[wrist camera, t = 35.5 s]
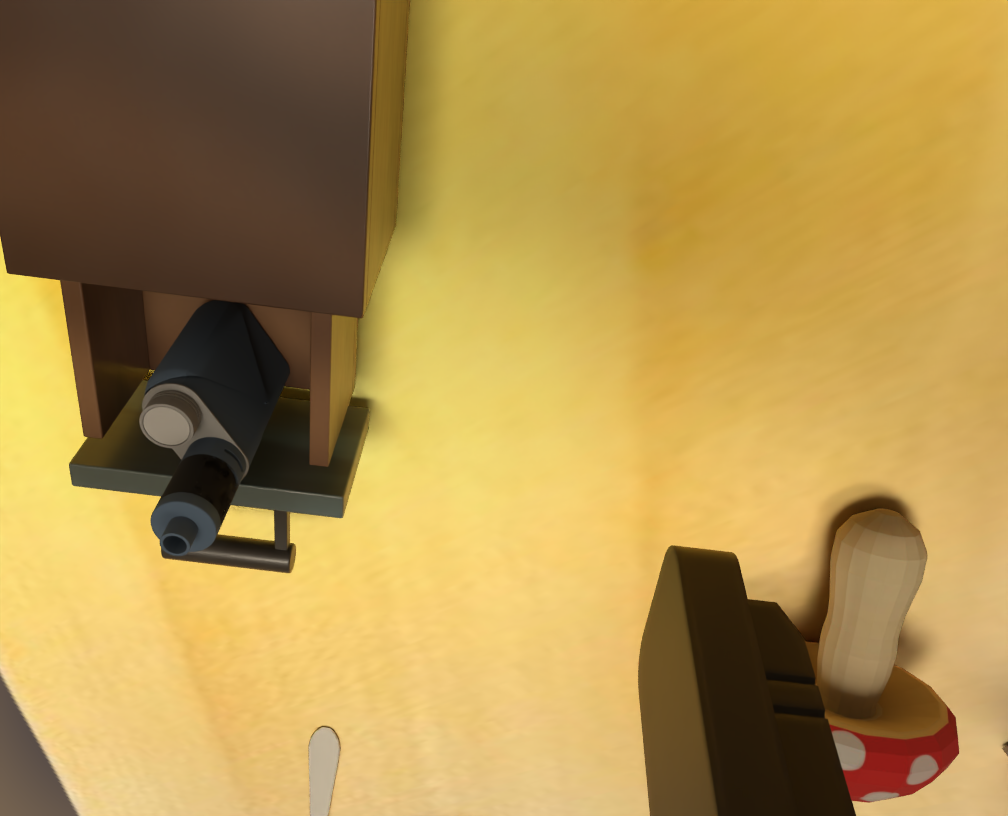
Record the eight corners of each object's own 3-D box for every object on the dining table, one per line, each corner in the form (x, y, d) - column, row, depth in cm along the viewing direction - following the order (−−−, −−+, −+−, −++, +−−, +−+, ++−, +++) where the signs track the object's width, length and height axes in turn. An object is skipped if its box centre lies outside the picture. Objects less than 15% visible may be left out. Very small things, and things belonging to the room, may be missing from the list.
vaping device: (255, 398, 44) (167, 580, 34) (186, 306, 41) (69, 473, 31) (301, 377, 43) (226, 558, 33) (234, 283, 41) (130, 447, 31)
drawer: (364, 518, 49) (339, 615, 43) (142, 491, 49) (87, 585, 43) (384, 131, 38) (354, 192, 32) (96, 93, 38) (15, 148, 32)
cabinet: (396, 225, 41) (362, 319, 34) (102, 187, 41) (6, 274, 34) (422, -201, 33) (385, -195, 25) (51, -254, 32) (-93, -264, 25)
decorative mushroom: (926, 569, 39) (850, 882, 42) (1059, 541, 45) (984, 816, 49) (725, 483, 48) (676, 748, 51) (861, 469, 54) (809, 706, 58)
